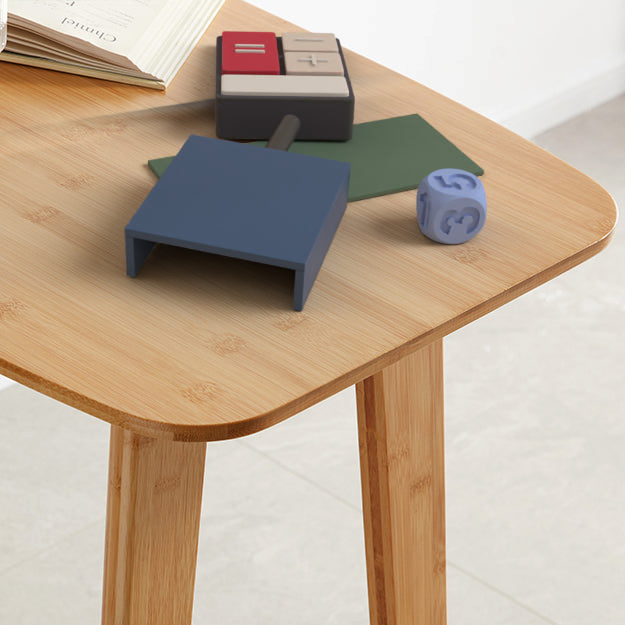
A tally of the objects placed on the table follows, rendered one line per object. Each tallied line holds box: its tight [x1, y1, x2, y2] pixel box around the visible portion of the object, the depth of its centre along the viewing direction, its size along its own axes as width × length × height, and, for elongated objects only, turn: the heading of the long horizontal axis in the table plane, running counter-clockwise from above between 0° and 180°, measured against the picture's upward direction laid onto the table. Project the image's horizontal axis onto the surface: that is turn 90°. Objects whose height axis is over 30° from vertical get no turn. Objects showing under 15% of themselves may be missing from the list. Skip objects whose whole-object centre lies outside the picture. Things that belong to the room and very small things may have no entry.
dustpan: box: [123, 115, 351, 312], centre depth 80 cm, size 4×12×19 cm
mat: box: [147, 112, 485, 203], centre depth 88 cm, size 24×10×1 cm, turn 116°
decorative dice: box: [415, 169, 488, 245], centre depth 81 cm, size 4×4×4 cm
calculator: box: [214, 30, 356, 140], centre depth 96 cm, size 11×4×15 cm
